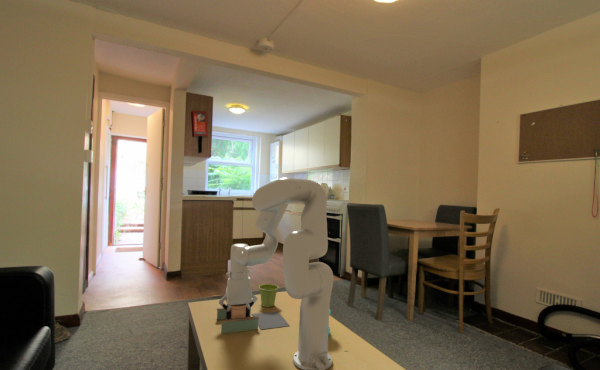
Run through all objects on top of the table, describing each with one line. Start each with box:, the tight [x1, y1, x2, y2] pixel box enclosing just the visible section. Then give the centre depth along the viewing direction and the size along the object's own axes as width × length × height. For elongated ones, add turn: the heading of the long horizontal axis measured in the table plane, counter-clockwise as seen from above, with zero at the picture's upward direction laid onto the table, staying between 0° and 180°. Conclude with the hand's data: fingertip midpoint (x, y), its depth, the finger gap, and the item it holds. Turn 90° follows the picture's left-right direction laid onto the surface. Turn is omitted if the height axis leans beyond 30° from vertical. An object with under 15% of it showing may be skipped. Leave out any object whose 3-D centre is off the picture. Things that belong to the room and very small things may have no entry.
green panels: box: [216, 306, 259, 334], centre depth 126 cm, size 14×14×5 cm
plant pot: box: [258, 283, 279, 308], centre depth 149 cm, size 9×9×9 cm
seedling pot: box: [230, 304, 247, 319], centre depth 126 cm, size 7×7×7 cm
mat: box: [251, 310, 290, 331], centre depth 131 cm, size 16×12×1 cm
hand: (237, 318), depth 126 cm, fingers closed on seedling pot, 6 cm apart
